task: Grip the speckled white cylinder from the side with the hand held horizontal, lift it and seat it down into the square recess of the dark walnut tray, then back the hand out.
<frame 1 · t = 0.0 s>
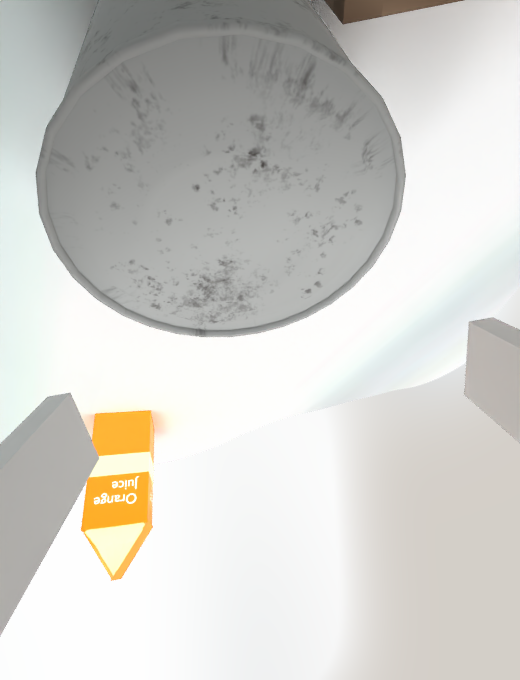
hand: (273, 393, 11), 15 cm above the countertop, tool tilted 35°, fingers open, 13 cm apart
speckled white cylinder: (207, 64, 16), on the countertop
orange juice: (127, 421, 52), on the countertop
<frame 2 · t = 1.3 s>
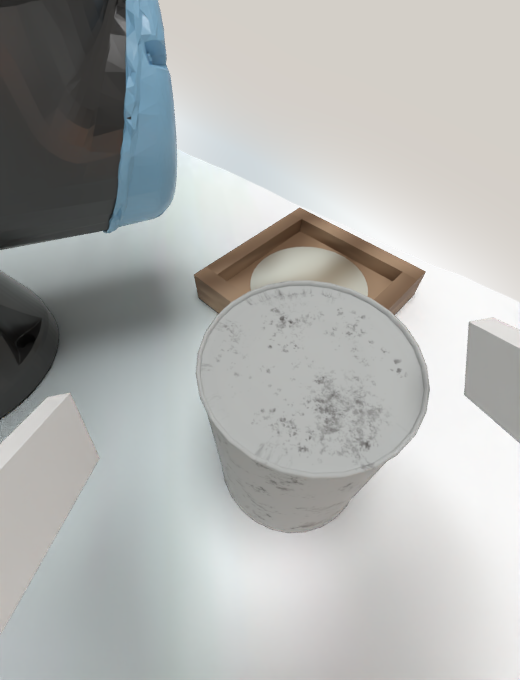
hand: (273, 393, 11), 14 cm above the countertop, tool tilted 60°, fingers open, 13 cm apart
speckled white cylinder: (289, 456, 24), on the countertop
walnut seat tray: (306, 296, 33), on the countertop
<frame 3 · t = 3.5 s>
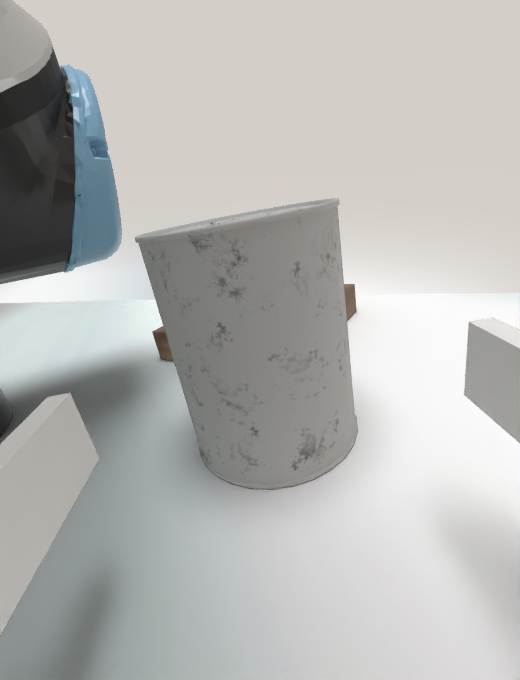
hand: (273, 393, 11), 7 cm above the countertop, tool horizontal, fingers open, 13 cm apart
speckled white cylinder: (277, 429, 21), on the countertop
walnut seat tray: (262, 334, 35), on the countertop
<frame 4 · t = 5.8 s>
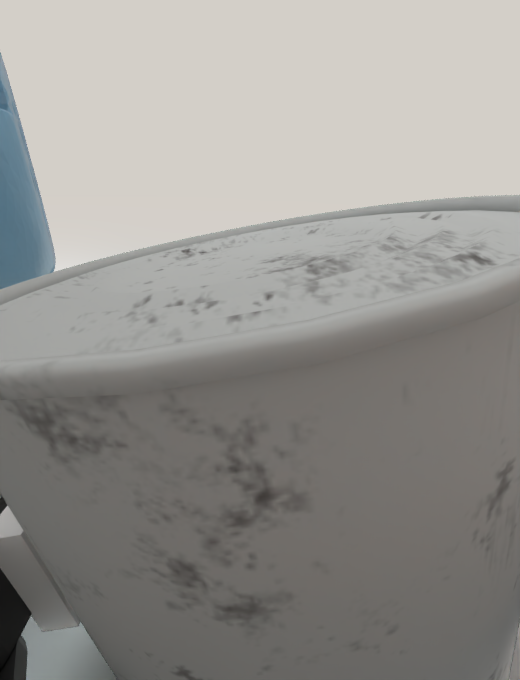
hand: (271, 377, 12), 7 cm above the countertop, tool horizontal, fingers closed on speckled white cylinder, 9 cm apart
speckled white cylinder: (317, 636, 11), on the countertop, touching gripper
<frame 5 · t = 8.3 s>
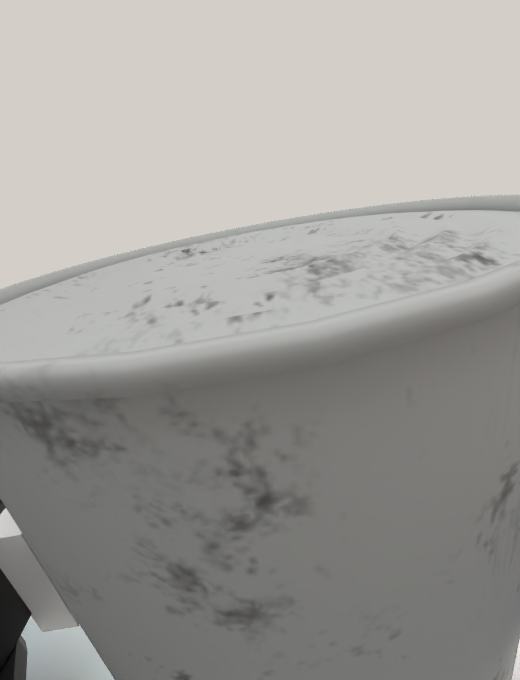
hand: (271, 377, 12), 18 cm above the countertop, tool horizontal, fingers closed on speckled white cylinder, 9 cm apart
speckled white cylinder: (318, 637, 11), point 11 cm above the countertop, touching gripper
when the fingers open (9 cm above the countertop, at t = 11.1 s): speckled white cylinder stays where it is, resting on walnut seat tray.
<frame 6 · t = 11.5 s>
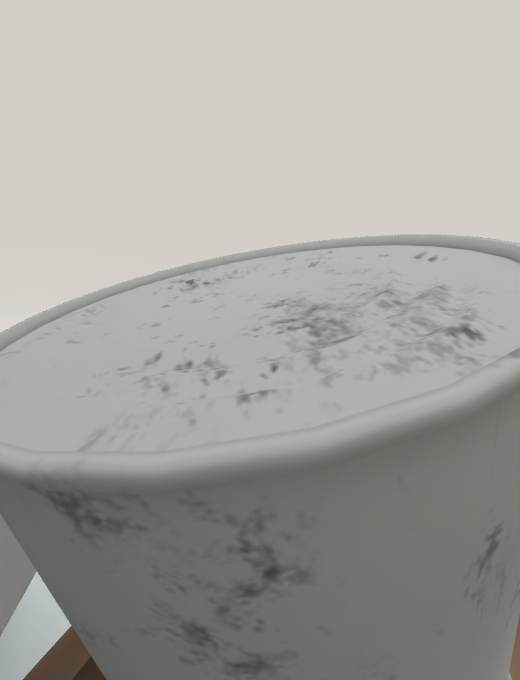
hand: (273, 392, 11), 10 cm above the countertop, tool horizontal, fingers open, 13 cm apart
speckled white cylinder: (317, 653, 11), point 2 cm above the countertop, touching walnut seat tray
walnut seat tray: (324, 673, 12), on the countertop
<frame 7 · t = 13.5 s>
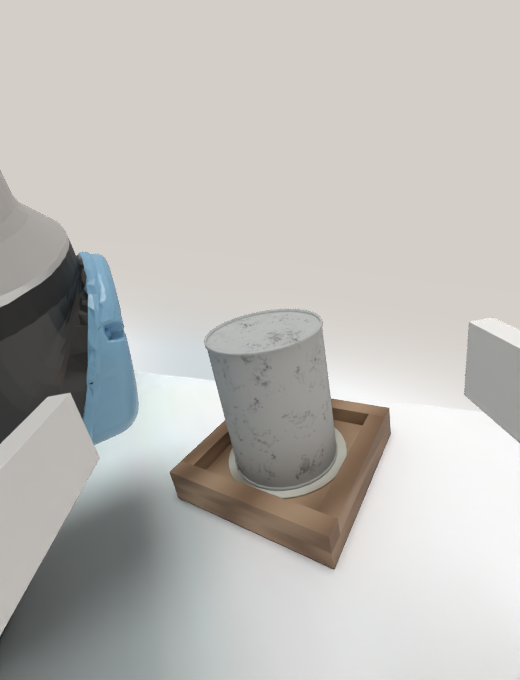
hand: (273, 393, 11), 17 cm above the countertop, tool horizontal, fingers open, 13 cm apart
speckled white cylinder: (285, 452, 32), point 2 cm above the countertop, touching walnut seat tray
walnut seat tray: (289, 464, 32), on the countertop
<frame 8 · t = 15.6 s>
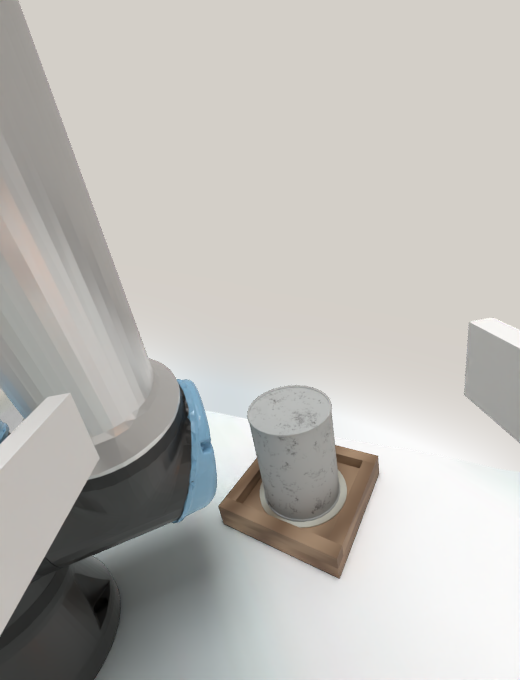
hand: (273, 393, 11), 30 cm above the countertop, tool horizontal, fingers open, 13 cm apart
speckled white cylinder: (302, 489, 43), point 2 cm above the countertop, touching walnut seat tray
walnut seat tray: (303, 497, 44), on the countertop
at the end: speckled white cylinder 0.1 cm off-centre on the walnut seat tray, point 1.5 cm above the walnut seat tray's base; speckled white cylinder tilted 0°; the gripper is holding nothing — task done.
